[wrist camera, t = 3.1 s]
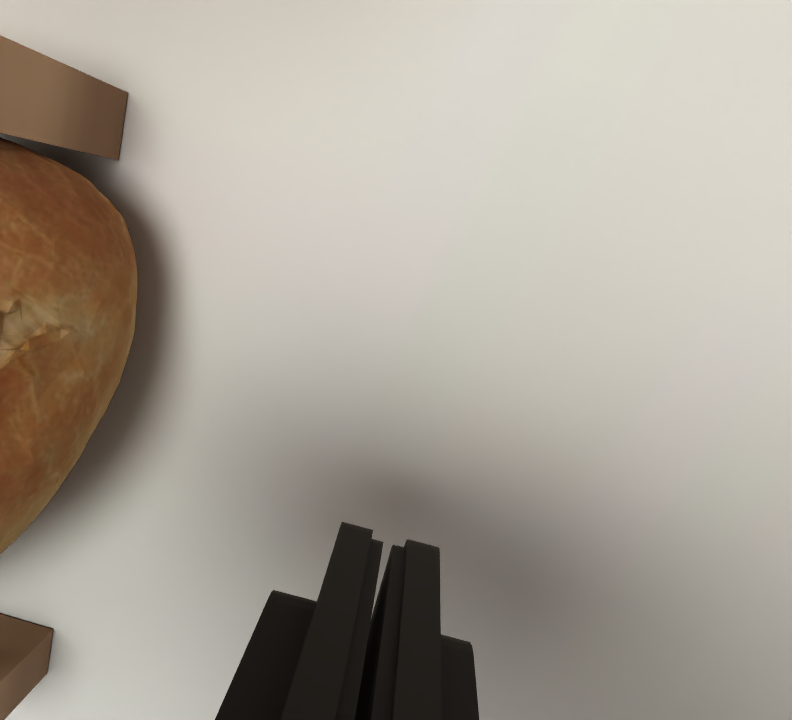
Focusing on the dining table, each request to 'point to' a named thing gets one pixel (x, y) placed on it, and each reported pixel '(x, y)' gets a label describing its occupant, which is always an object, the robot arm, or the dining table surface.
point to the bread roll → (56, 325)
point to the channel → (78, 130)
